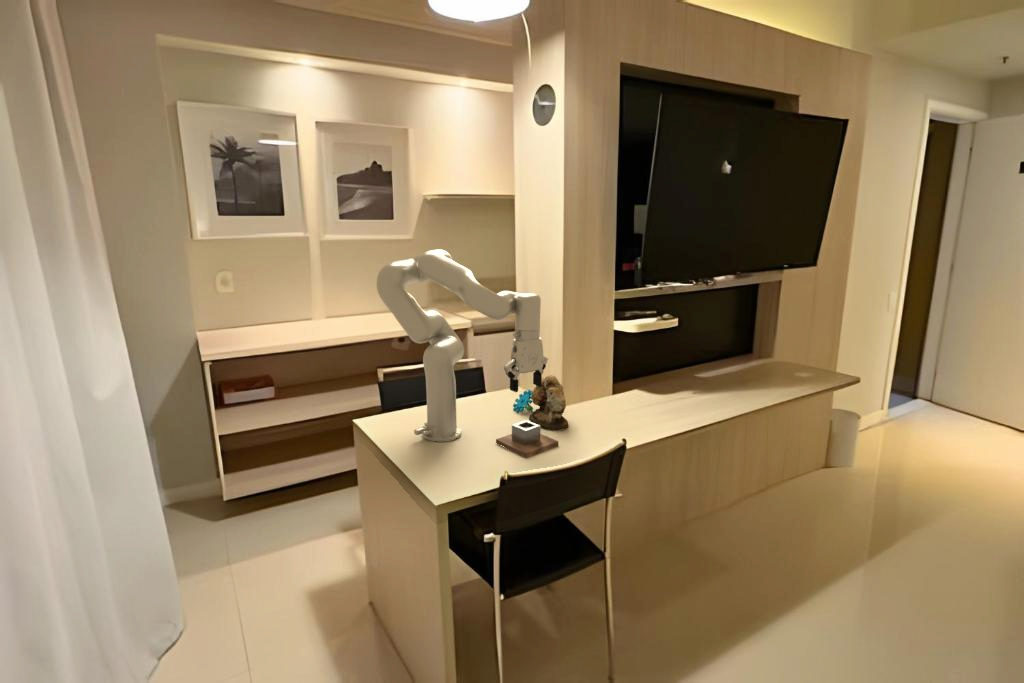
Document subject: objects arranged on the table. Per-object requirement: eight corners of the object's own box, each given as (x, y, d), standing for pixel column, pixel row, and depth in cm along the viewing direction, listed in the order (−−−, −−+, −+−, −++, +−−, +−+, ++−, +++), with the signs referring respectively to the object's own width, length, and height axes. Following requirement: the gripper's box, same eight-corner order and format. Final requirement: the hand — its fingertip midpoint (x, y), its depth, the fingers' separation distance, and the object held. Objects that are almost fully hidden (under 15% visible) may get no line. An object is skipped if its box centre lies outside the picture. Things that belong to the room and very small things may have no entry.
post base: (525, 458, 166) (525, 440, 165) (495, 443, 176) (495, 427, 175) (558, 445, 175) (558, 429, 174) (528, 432, 185) (528, 417, 184)
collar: (525, 445, 171) (525, 430, 170) (511, 439, 176) (511, 424, 175) (540, 440, 175) (540, 425, 174) (526, 434, 180) (526, 420, 179)
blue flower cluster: (509, 402, 210) (528, 384, 209) (519, 411, 213) (538, 393, 212) (515, 416, 200) (535, 397, 199) (526, 425, 202) (546, 407, 201)
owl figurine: (519, 417, 199) (519, 372, 196) (545, 411, 206) (546, 367, 202) (549, 433, 185) (550, 384, 181) (576, 426, 191) (578, 379, 188)
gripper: (513, 340, 160) (512, 396, 164) (556, 333, 171) (554, 385, 175) (497, 335, 166) (496, 390, 170) (539, 328, 177) (537, 380, 181)
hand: (525, 388), depth 172 cm, fingers open, 9 cm apart
